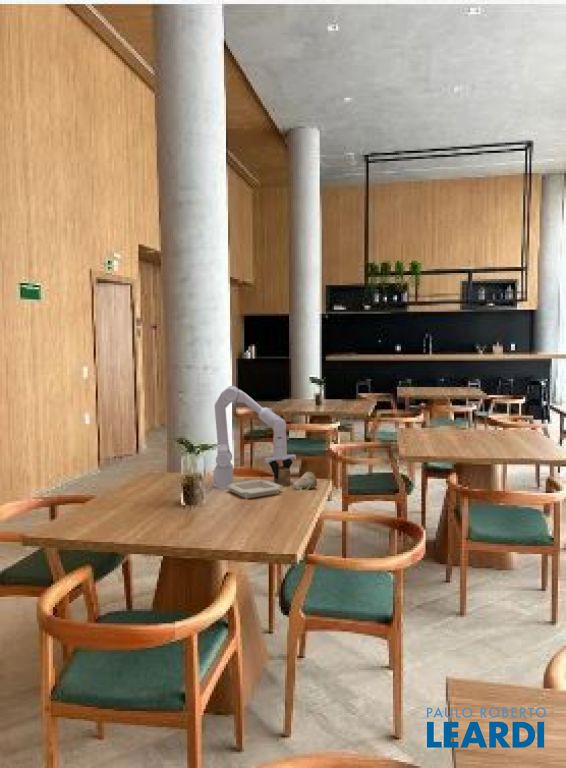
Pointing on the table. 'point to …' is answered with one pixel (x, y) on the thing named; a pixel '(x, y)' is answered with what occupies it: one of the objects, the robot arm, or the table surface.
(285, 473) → the box
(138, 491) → the table surface
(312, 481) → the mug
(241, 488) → the off-white shallow square tray
